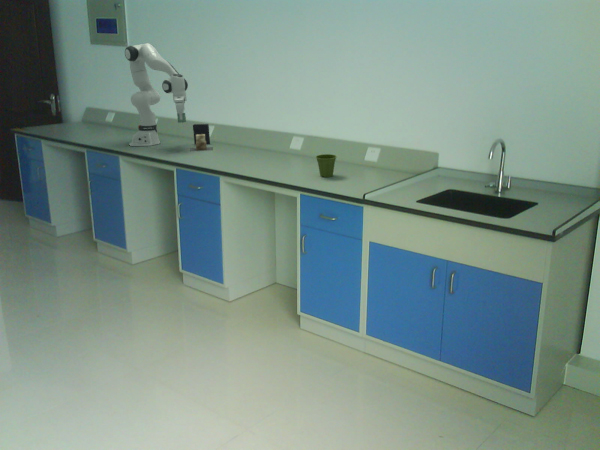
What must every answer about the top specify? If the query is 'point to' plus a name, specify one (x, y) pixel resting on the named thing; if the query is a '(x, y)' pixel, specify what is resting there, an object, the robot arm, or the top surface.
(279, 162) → the top surface
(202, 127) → the black upright flat panel
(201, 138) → the top block
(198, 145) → the bottom block
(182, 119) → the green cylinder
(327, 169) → the plant pot
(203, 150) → the mat
